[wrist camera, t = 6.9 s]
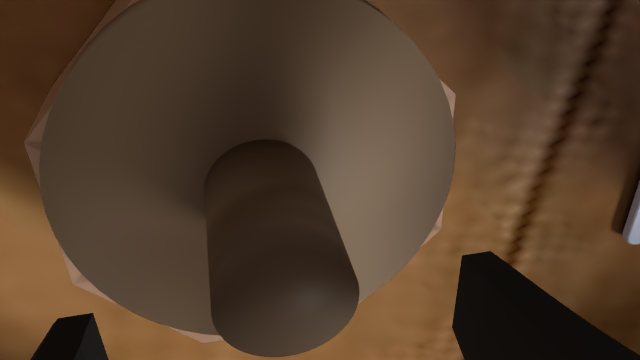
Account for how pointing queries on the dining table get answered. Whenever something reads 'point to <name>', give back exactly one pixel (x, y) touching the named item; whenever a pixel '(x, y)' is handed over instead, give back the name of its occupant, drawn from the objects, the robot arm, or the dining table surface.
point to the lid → (247, 164)
